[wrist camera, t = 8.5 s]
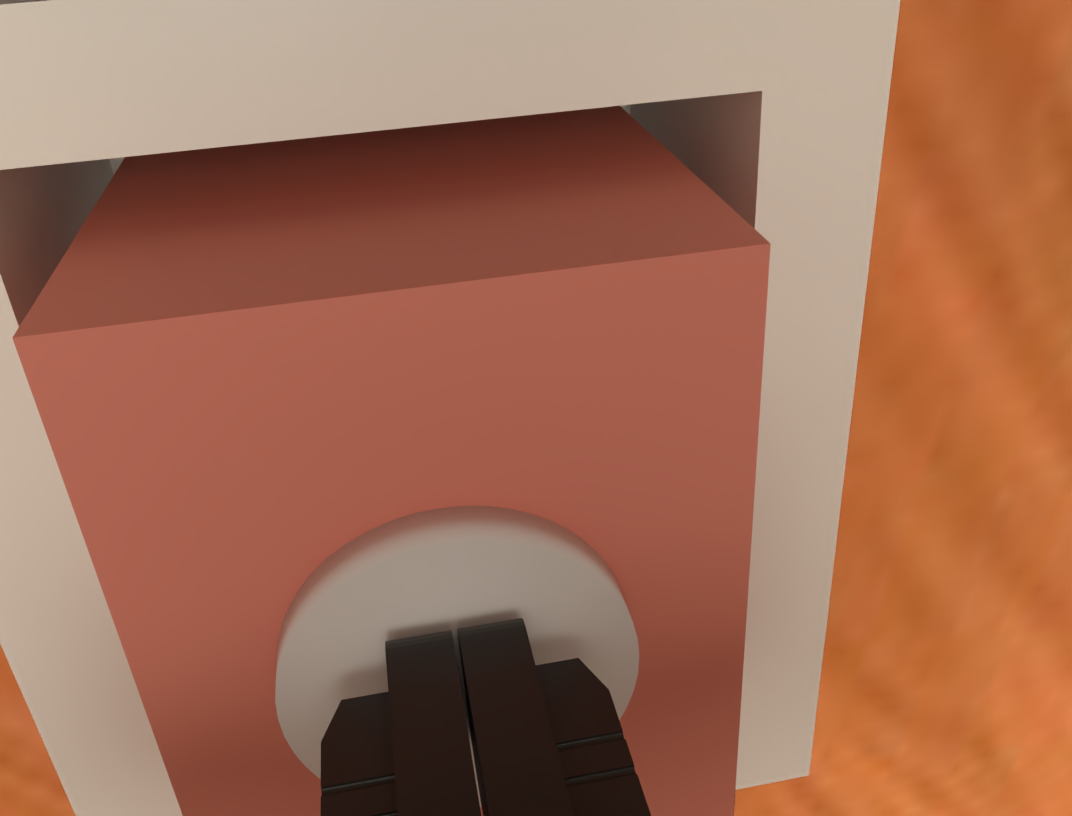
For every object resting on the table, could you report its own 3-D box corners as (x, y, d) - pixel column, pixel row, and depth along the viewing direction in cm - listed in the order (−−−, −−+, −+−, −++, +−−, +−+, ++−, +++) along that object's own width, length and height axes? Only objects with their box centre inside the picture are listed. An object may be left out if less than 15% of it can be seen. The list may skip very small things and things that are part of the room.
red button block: (600, 88, 16) (795, 267, 9) (611, 544, 20) (747, 880, 14) (138, 134, 15) (-8, 369, 8) (258, 601, 19) (224, 988, 13)
